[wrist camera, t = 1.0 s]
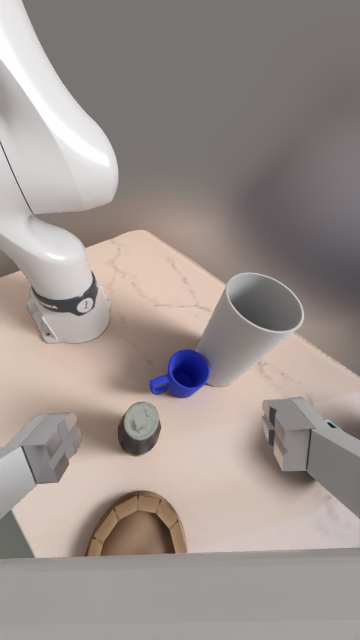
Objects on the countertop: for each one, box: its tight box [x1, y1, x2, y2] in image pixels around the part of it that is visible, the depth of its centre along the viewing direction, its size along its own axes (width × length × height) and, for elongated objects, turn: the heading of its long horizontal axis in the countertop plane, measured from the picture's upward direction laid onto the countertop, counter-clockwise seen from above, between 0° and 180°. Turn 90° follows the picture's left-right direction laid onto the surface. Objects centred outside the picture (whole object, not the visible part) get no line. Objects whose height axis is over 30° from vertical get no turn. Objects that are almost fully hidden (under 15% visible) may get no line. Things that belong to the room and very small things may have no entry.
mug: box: [150, 350, 210, 398], centre depth 40 cm, size 8×12×10 cm
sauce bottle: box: [118, 402, 161, 456], centre depth 29 cm, size 7×6×20 cm
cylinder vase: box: [195, 273, 304, 387], centre depth 39 cm, size 12×12×25 cm
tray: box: [85, 491, 187, 557], centre depth 27 cm, size 15×15×2 cm
